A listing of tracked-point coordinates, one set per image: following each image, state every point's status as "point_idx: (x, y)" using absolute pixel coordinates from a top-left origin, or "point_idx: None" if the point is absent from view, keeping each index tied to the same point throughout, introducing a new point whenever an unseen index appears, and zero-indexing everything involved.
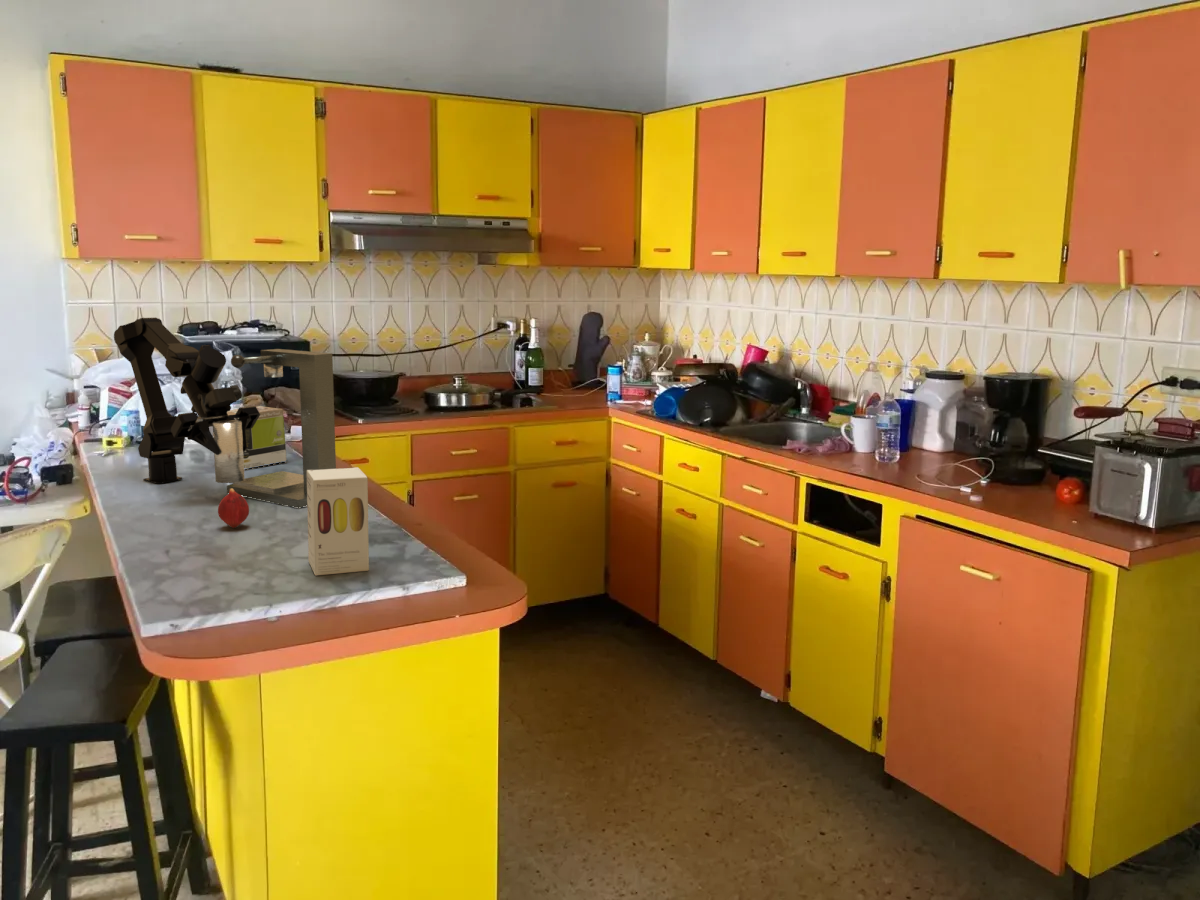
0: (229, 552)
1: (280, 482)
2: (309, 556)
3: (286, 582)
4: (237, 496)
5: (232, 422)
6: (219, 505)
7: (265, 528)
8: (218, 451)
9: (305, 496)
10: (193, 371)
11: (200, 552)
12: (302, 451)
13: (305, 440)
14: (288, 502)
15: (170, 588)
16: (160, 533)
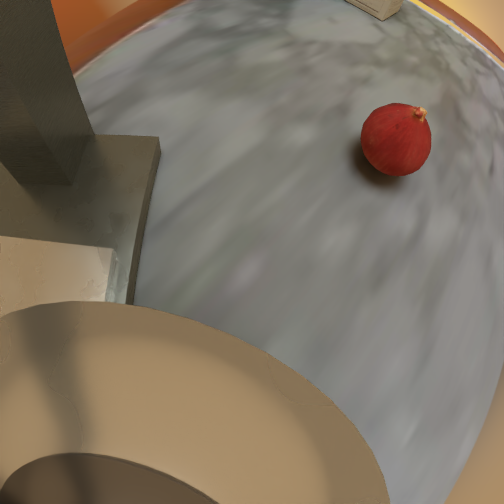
0: (436, 96)
1: (26, 306)
2: (393, 10)
3: (423, 25)
4: (409, 105)
5: (88, 456)
6: (430, 149)
7: (337, 112)
8: None
9: (114, 148)
10: None
11: (463, 128)
12: (19, 93)
13: (12, 42)
14: (151, 180)
15: (499, 95)
16: (477, 262)
